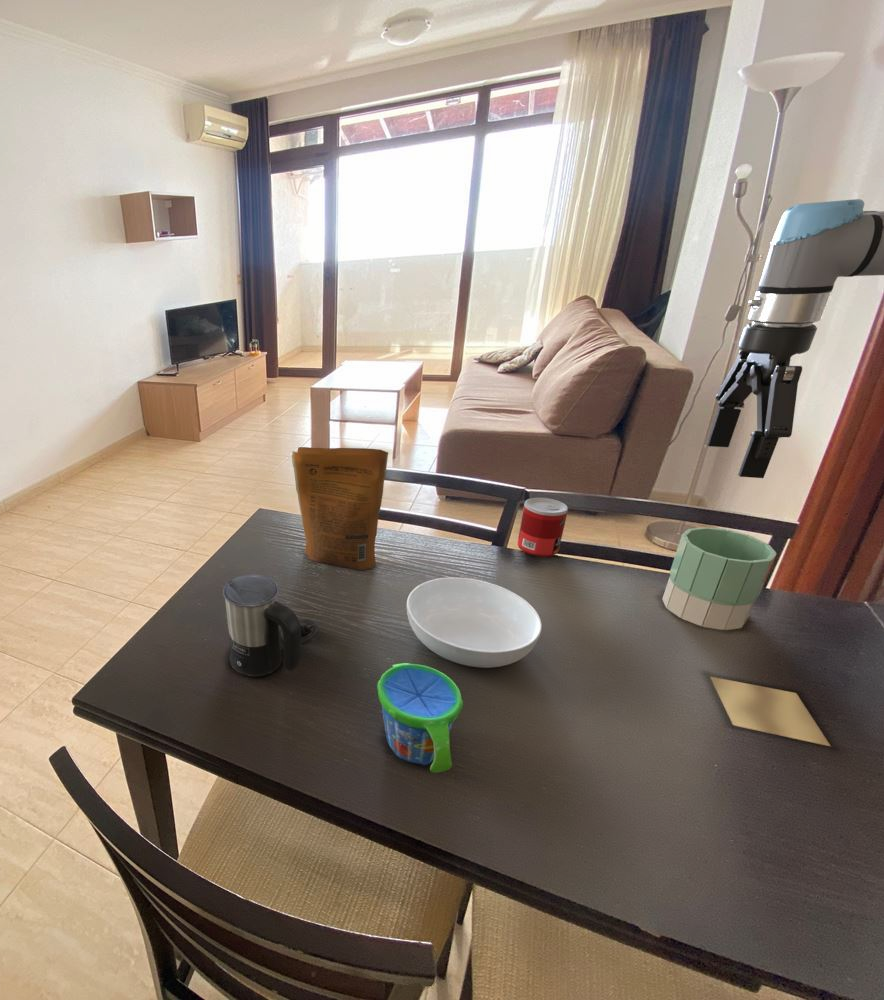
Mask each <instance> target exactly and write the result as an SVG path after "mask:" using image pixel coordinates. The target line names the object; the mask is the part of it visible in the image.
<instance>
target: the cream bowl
mask: <svg viewBox="0 0 884 1000" xmlns="http://www.w3.org/2000/svg"><path fill="white" fill-rule="evenodd" d="M662 602H663V604H664V606H665V609H666V610H668V611H669V612H671V613H672V614H673V615H675V616H677V617H678V618H680V619H682V620H684V621H687V622H689V623H692V624H695V625H697V626H700V627H703V628H707V629H708V628H709V629H715V630H720V631H729V630H736V629H742V628H743V627H744V625H745V624H746V623H747V621H748V619H749V617H750V614H751V612H752V610H753V607H754V605H755V602H753V603H751V604H748V605H741V606H732V605H723V604H717V603H713V602H709V601H705V600H702V599H699V598H697V597H694V596H692V595H690V594H688V593H686V592H684V591H682V590H681V589H679V588H678V587H676V586H675V585H674V584H673V583H672V581H671V579H670V576H669V578H668V581H667V583H666V586H665V589H664V593H663V596H662Z"/></svg>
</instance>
